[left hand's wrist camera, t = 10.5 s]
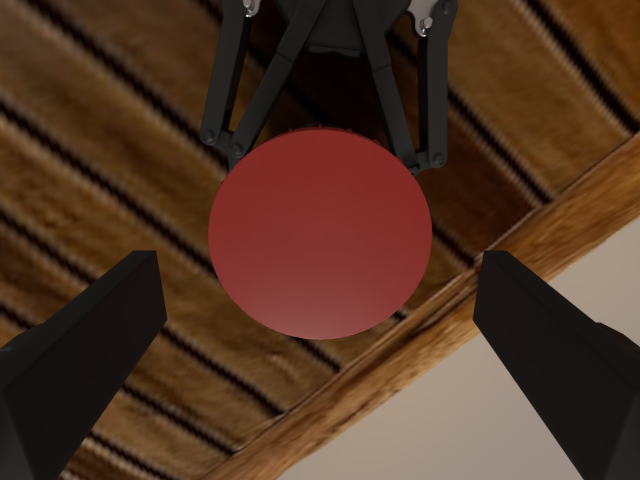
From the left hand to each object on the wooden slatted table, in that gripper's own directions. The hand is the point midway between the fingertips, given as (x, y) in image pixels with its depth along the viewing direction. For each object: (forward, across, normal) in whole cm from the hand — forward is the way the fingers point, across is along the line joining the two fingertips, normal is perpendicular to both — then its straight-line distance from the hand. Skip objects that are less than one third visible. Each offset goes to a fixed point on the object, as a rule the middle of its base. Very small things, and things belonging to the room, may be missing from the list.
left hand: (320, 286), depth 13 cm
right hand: (+14, 0, -5) cm, 15 cm away
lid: (+4, 0, 0) cm, 4 cm away
